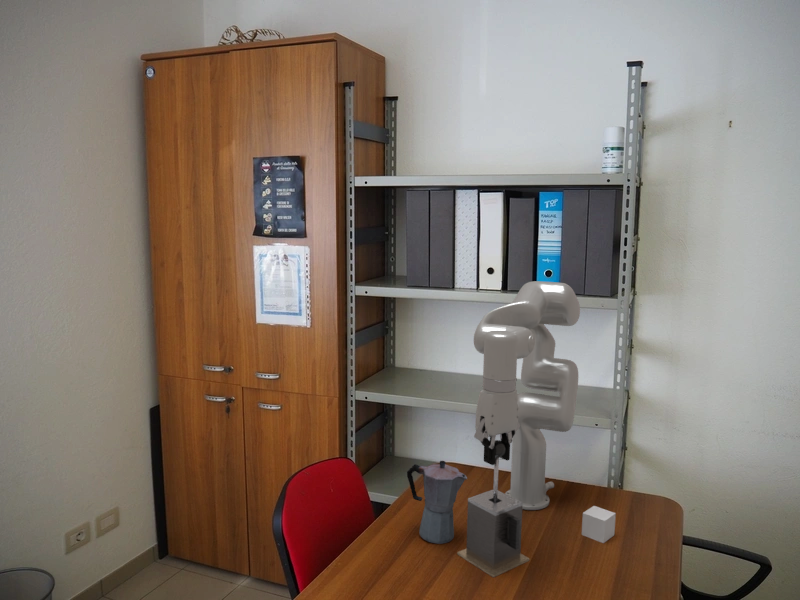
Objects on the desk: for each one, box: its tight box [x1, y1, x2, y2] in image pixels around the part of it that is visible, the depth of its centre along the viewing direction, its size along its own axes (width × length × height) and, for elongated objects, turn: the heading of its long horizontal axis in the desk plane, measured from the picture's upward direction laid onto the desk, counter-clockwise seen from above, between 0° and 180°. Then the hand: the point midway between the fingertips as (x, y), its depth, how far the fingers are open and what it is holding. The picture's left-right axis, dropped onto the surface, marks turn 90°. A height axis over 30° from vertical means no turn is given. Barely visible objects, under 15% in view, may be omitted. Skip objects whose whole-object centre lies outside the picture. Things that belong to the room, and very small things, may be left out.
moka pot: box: [406, 460, 468, 545], centre depth 158 cm, size 10×15×20 cm, turn 78°
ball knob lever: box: [492, 439, 506, 503], centre depth 146 cm, size 6×6×17 cm
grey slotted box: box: [456, 489, 530, 578], centre depth 148 cm, size 12×13×14 cm
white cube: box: [581, 505, 617, 544], centre depth 160 cm, size 6×6×6 cm
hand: (496, 460), depth 146 cm, fingers closed on ball knob lever, 4 cm apart
